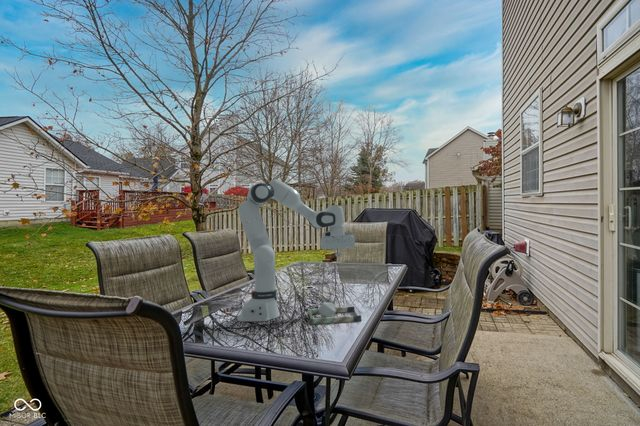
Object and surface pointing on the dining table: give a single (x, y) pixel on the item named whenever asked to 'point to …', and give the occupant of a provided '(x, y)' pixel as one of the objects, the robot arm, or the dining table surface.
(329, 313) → the die
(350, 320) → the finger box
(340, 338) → the dining table surface
